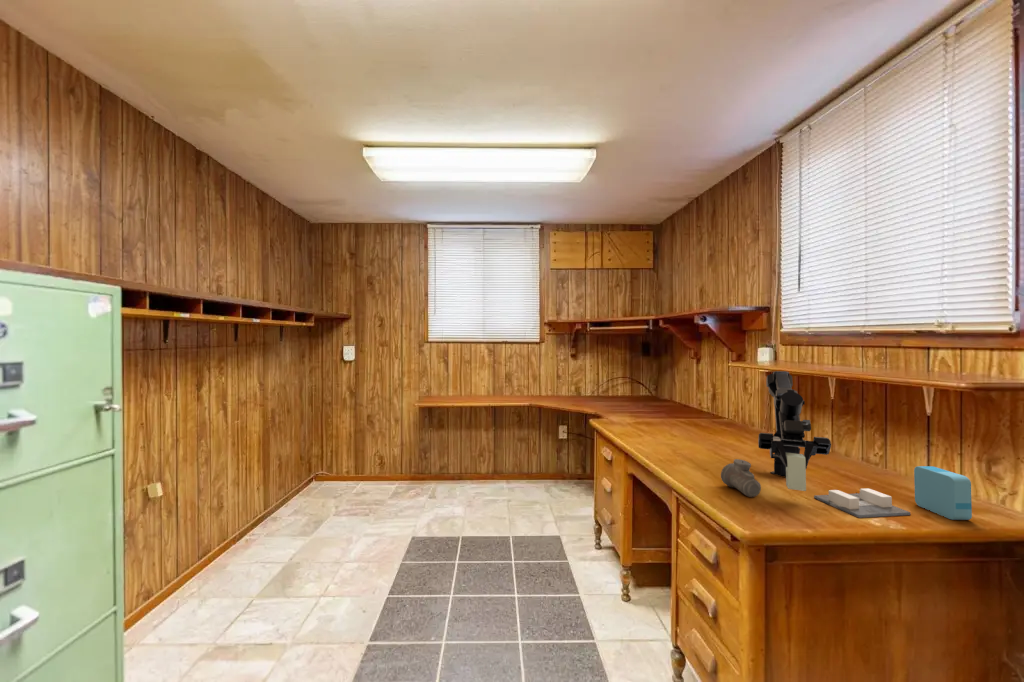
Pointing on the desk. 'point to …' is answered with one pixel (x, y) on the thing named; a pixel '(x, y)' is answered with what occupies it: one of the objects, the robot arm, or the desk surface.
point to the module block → (796, 471)
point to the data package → (943, 492)
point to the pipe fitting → (741, 478)
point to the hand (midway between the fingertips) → (796, 467)
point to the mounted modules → (865, 494)
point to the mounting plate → (865, 508)
